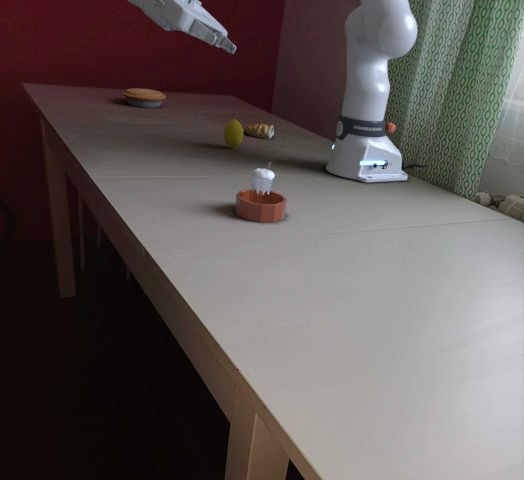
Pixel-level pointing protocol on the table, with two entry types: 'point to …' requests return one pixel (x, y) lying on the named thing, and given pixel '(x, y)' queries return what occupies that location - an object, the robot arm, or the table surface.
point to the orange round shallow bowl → (260, 207)
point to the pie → (144, 97)
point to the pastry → (260, 130)
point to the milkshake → (262, 185)
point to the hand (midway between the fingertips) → (224, 46)
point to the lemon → (233, 133)
